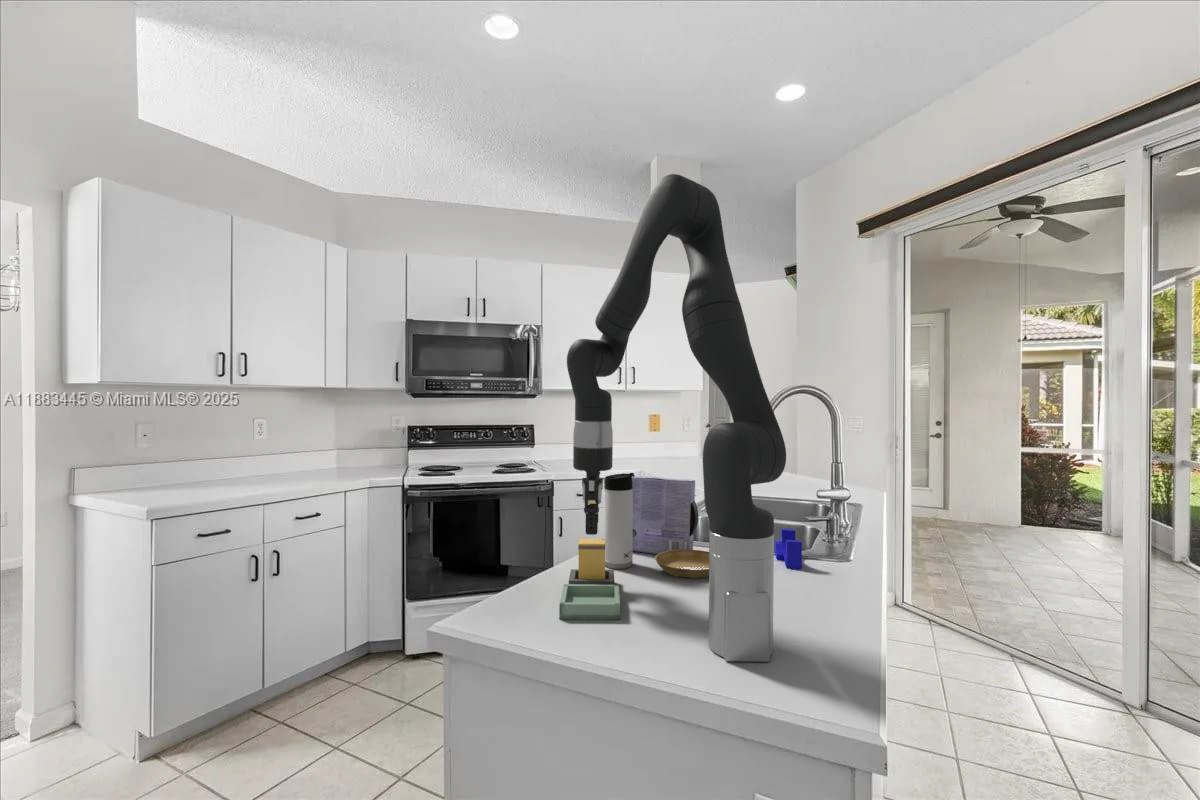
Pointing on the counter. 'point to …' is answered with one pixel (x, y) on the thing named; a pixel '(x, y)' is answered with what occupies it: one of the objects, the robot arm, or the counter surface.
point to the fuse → (591, 558)
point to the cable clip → (789, 549)
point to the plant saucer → (684, 562)
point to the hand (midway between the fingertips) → (592, 528)
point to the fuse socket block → (575, 579)
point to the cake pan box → (663, 514)
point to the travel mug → (618, 521)
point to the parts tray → (590, 602)
